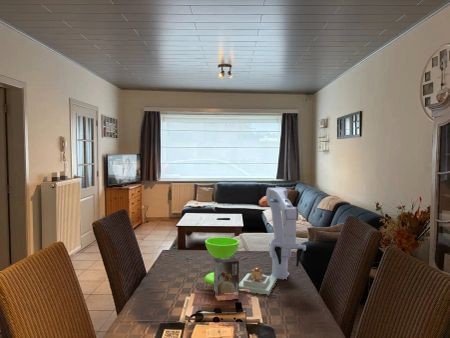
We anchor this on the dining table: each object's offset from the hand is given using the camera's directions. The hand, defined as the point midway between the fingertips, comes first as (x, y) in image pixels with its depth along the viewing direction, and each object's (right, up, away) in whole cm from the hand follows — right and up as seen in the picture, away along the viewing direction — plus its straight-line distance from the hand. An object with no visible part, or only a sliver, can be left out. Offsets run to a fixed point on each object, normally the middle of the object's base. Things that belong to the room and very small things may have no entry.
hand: (288, 264), depth 160 cm
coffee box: (-28, -11, -12) cm, 32 cm away
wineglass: (-30, -10, +10) cm, 33 cm away
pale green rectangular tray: (-14, -10, +2) cm, 17 cm away
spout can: (-14, -8, 0) cm, 16 cm away
